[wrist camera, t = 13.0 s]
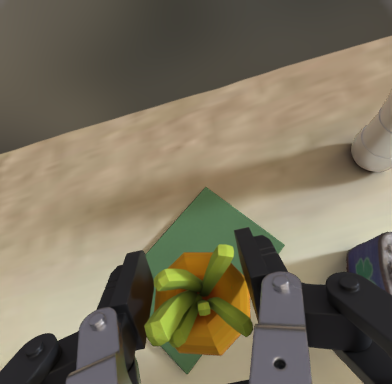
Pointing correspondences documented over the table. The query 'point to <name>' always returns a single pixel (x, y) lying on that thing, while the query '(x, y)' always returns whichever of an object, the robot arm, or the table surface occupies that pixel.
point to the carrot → (200, 303)
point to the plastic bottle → (375, 141)
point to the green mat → (200, 245)
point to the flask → (373, 261)
